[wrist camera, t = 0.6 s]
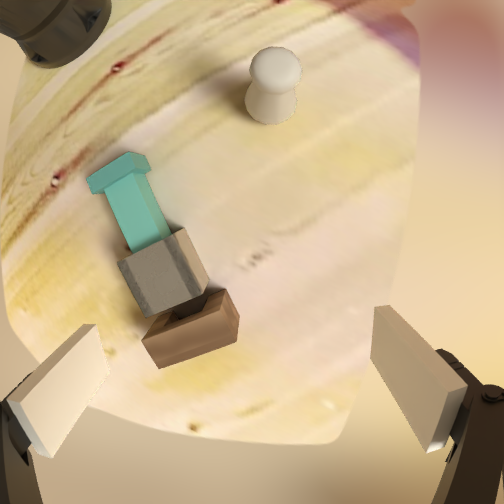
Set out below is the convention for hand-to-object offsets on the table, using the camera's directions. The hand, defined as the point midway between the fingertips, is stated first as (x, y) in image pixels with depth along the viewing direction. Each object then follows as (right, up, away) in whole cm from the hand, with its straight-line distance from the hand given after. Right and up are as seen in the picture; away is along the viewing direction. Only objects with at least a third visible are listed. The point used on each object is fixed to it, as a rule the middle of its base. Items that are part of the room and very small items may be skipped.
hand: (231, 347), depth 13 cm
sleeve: (-9, +2, +24) cm, 26 cm away
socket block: (-6, -4, +26) cm, 27 cm away
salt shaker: (+3, +21, +21) cm, 30 cm away
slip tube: (-12, +9, +23) cm, 27 cm away
